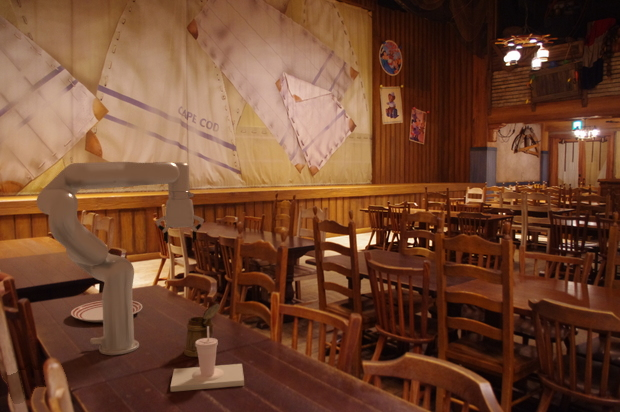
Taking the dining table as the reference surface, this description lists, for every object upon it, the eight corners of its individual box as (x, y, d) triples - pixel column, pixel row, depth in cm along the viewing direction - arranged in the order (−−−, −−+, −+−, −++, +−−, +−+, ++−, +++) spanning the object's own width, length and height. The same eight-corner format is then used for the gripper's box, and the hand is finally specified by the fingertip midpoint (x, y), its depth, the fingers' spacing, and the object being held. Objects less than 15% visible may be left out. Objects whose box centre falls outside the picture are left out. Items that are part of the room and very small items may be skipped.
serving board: (170, 391, 139) (170, 386, 139) (174, 373, 151) (174, 368, 150) (244, 385, 142) (243, 379, 142) (242, 368, 154) (241, 363, 154)
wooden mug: (207, 362, 159) (206, 306, 158) (178, 353, 167) (177, 299, 165) (227, 353, 166) (226, 299, 165) (199, 345, 174) (197, 293, 173)
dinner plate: (156, 312, 214) (156, 304, 214) (100, 330, 191) (100, 322, 191) (113, 303, 228) (113, 296, 228) (56, 320, 205) (56, 311, 205)
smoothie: (214, 379, 143) (212, 330, 142) (192, 377, 144) (191, 329, 143) (221, 370, 149) (220, 323, 148) (201, 369, 150) (199, 322, 149)
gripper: (203, 195, 191) (204, 240, 192) (155, 196, 188) (157, 241, 189) (203, 196, 183) (204, 243, 185) (153, 197, 180) (155, 245, 182)
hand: (180, 242), depth 187 cm, fingers open, 9 cm apart
